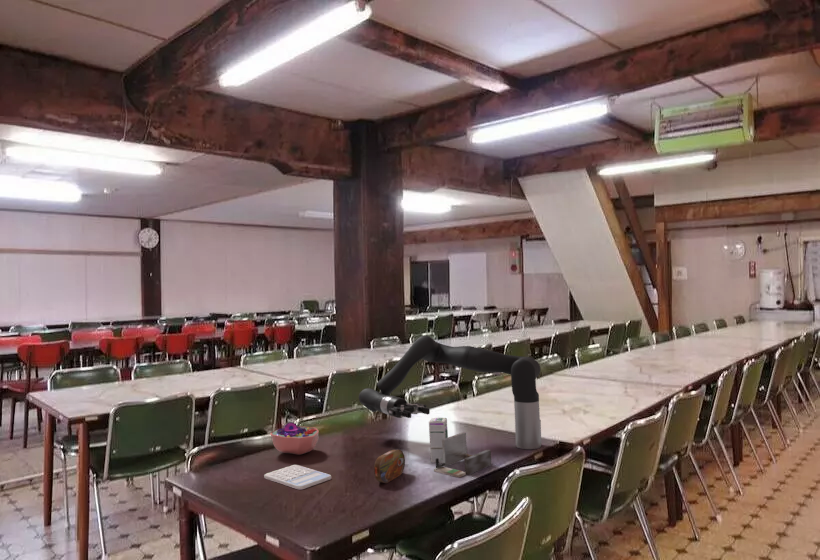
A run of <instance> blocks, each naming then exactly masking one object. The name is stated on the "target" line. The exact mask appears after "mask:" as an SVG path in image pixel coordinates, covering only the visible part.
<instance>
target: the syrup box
mask: <svg viewBox="0 0 820 560" xmlns="http://www.w3.org/2000/svg"><path fill="white" fill-rule="evenodd" d="M428 429H429V430H428V433H429V452H430V455H429V456H430V463H432V464H433V463H435V464H436V458H438V459H439V464H443V447H442V439H445V438H448V437H449V435H448V419H447V418H446V417H431V419H430V420H429V421H428Z"/></svg>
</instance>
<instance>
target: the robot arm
mask: <svg viewBox="0 0 820 560" xmlns="http://www.w3.org/2000/svg"><path fill="white" fill-rule="evenodd" d="M421 360H423V361H425V362H428V363H429V362H430V363H439V364H440V363H441V364H447V365H451V366H453V367H457V368H462V369H465V370H469V371H473V372H478V373H492V374H493V373H501V374H506V375H507V374H508V375H510V378H511V381H510V382H511V391H512V392H511V393H512V395H513V402H514V403H513V405H514V406H513V407H514V408H513V409H514V424H515V425H514V429H515V430H514V432H515V433H514V434H515V447H517V448H518V449H521V450H536V449H540V448H541V446H542V421H541V418H540V417H541V415H540V395H539V392H538V391H537V382H536V381H537V378H538V377H539V375H540V374H541V365H540V363H539V362H538V361H537V360H536V359H535V358H533V357H531V356H520V355H510V354H505V353H500V352H498V351H494V350H489V349H486V348H482V347H476V346H472V345H471V346H468V345H463V346H451V345H447V344H442V343H440V342H438V341H436V340H434V338H432V337H430V336H429V335H421V336H420V337H418V338H417V339H416V340H415V341H414V342H413V343H412V345H411V346H410V347H409V348H408V350H407V351H406V352H405V353H404V355H402V356H401V358H400V360H399V361H398V362H396V364H395V365H394V366H393V367H392V368H391V369H390V370H389V371H388V372H387V373H385V374H384V375H383V377H382V378H380V379H379V380H378V382H377V385H376V386H377V388H378V390H379V391H378V390H376V389H373V388H371V387H370V388H369V387H368V388H367V387H366V388H363V389H362V390H361V391H360V392H359V394H358V401H359V403H360V404H361V405H363V407H364V408H366V409H367V410H368V411H370V412H372V413H375V412H380V413H383V414H385V415H388V416H391V417H395V418H398V419H401V418H407V419H411V418H412V415H417V414H423V415H430V413H431V412H430V408H429V407H427V404H424V403H418V402H416V403H414V404H413V403H410V402H408V401H407V400H406V399H405V398H402V397H399V396H394V395H391V394H392V393H393V391H395V390H397V388H398V387H399V386H400V385H401V384H402V383H403V381H404V380H405V379H406V377H407V376H408V375H409V374H408V373H409V372H410V371H411V369H412V368H413V367H414V365H415V364H416V363H418V362H420V361H421Z"/></svg>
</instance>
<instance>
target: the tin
mask: <svg viewBox="0 0 820 560" xmlns="http://www.w3.org/2000/svg"><path fill="white" fill-rule="evenodd" d="M405 463H406V458H405V454H404V452H403V451H402V450H401V449H391V450H389V451H387V452H385V453H383V454H382V455H379V456H378V457H377V458H376V459H375V461H374V466H373V469H374V471H373V472H374V478H375V480H376V481H377V482H378V483H383V484H388V483H390V482H391V481H393V480H395V479H397V478H398V477H400V476H401V475H402V473H403V472H404V471H405V466H406V464H405Z"/></svg>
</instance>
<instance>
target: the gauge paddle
mask: <svg viewBox="0 0 820 560" xmlns="http://www.w3.org/2000/svg"><path fill="white" fill-rule="evenodd" d="M442 447H443V463H439V459H438V458H436V463H435V468H440V467H442V466H443V467H446V468H447V467H449V466H451V465H453V464H455V463H458V462H461V461H462V460H464V459H465V458H467V454H468V453H467V450H468V449H467V447H468V446H467V431H466V432H465V431H463V432H460V433H457V434H455V435H451V436H448V438H445V439H442Z"/></svg>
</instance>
